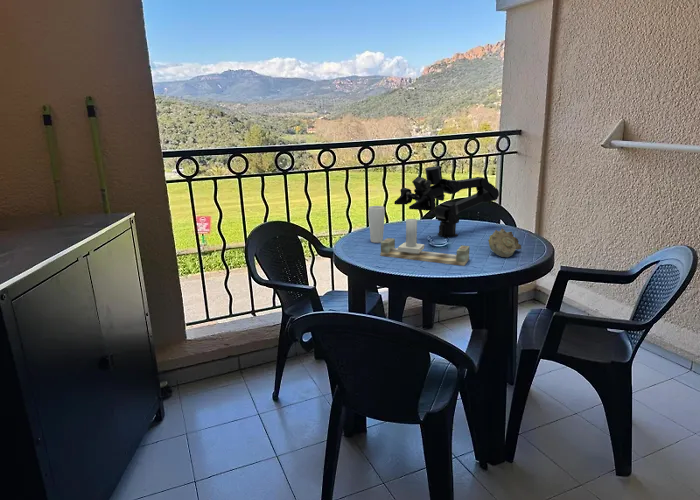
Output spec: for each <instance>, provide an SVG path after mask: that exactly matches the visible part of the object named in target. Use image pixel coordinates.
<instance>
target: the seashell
mask: <svg viewBox="0 0 700 500" xmlns="http://www.w3.org/2000/svg"><path fill="white" fill-rule="evenodd" d="M488 245H489V249H490V250H491V252H492V253H494V254H495V255H497V256H499V257H502V258H509V257H511V256H513V254H514V253H515V251H516V250H522V244H519V240H518V238H517V237H515V236H514V234H513V231H506V229H504V228H501V229H500V230H497V229H495V230H494V231H493V233H491V235H490V236H489V239H488Z"/></svg>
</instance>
